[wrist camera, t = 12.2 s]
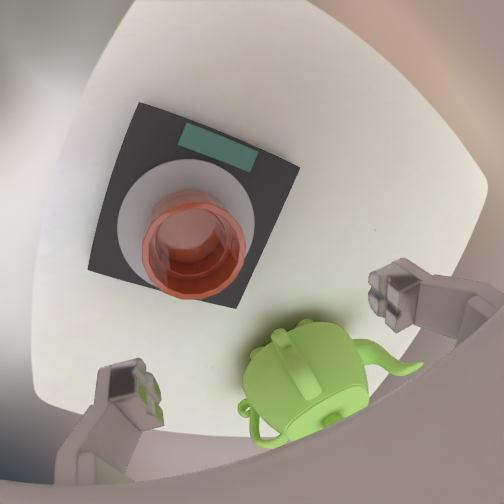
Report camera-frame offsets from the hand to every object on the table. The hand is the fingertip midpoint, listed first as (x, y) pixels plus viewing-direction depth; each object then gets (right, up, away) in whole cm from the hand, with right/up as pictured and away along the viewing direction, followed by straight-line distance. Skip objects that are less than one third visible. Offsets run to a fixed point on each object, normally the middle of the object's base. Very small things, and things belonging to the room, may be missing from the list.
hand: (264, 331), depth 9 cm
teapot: (+5, -10, +26) cm, 28 cm away
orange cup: (-5, +4, +13) cm, 15 cm away
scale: (-6, +6, +15) cm, 18 cm away
